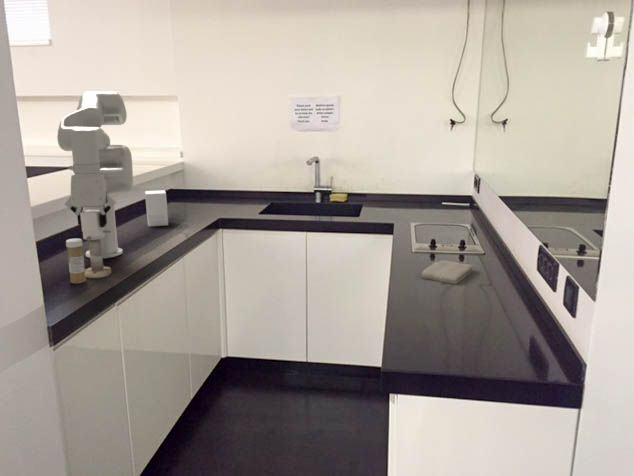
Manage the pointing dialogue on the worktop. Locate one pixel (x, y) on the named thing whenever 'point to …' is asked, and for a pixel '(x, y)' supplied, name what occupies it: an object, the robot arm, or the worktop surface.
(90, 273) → the post base
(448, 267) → the washcloth
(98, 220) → the coupling cap
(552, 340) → the worktop surface
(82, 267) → the sprinkles bottle
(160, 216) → the supplement box
